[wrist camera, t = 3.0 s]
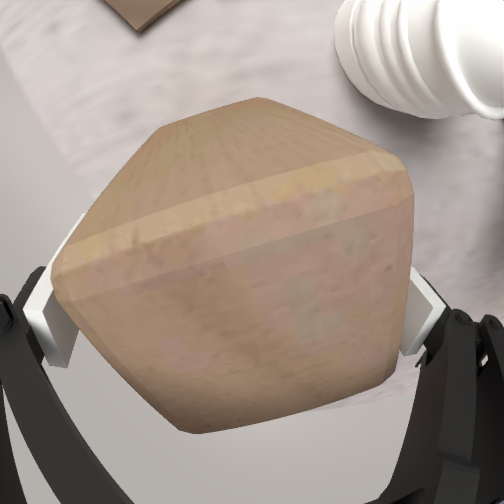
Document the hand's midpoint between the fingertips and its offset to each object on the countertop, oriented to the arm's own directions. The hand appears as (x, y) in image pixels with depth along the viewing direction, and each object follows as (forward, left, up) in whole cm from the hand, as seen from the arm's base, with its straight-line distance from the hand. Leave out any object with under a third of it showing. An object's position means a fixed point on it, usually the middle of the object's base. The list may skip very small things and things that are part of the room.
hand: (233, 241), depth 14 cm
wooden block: (0, 0, -13) cm, 13 cm away
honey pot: (-14, -14, -13) cm, 24 cm away
